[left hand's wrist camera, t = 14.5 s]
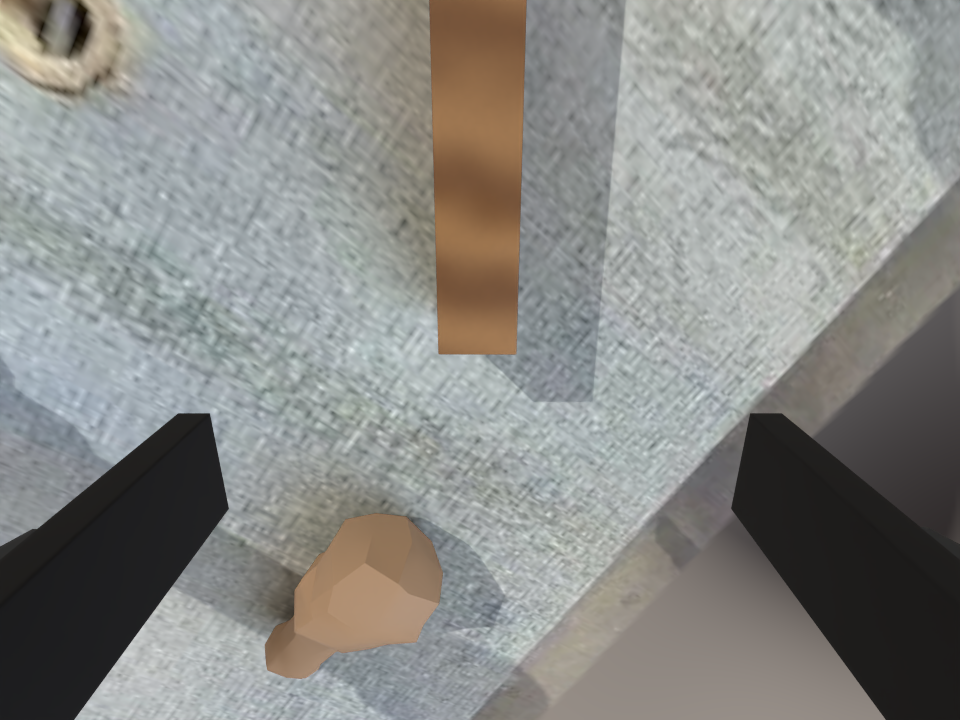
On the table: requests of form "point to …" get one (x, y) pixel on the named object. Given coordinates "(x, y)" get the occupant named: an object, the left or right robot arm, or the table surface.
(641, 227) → the table surface
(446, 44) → the post
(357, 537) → the squash
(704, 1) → the table surface
